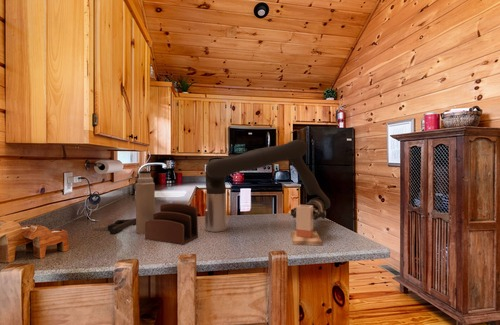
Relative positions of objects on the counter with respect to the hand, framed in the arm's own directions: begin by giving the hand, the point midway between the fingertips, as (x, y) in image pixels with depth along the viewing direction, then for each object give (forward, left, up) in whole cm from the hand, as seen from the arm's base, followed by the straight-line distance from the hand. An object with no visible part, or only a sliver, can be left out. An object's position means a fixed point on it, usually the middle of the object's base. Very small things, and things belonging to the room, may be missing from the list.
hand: (304, 216), depth 98 cm
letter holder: (-55, -2, -10) cm, 56 cm away
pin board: (0, +1, -10) cm, 10 cm away
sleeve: (0, +1, -8) cm, 8 cm away
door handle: (-90, +10, -10) cm, 91 cm away
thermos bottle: (-72, +6, -10) cm, 73 cm away
